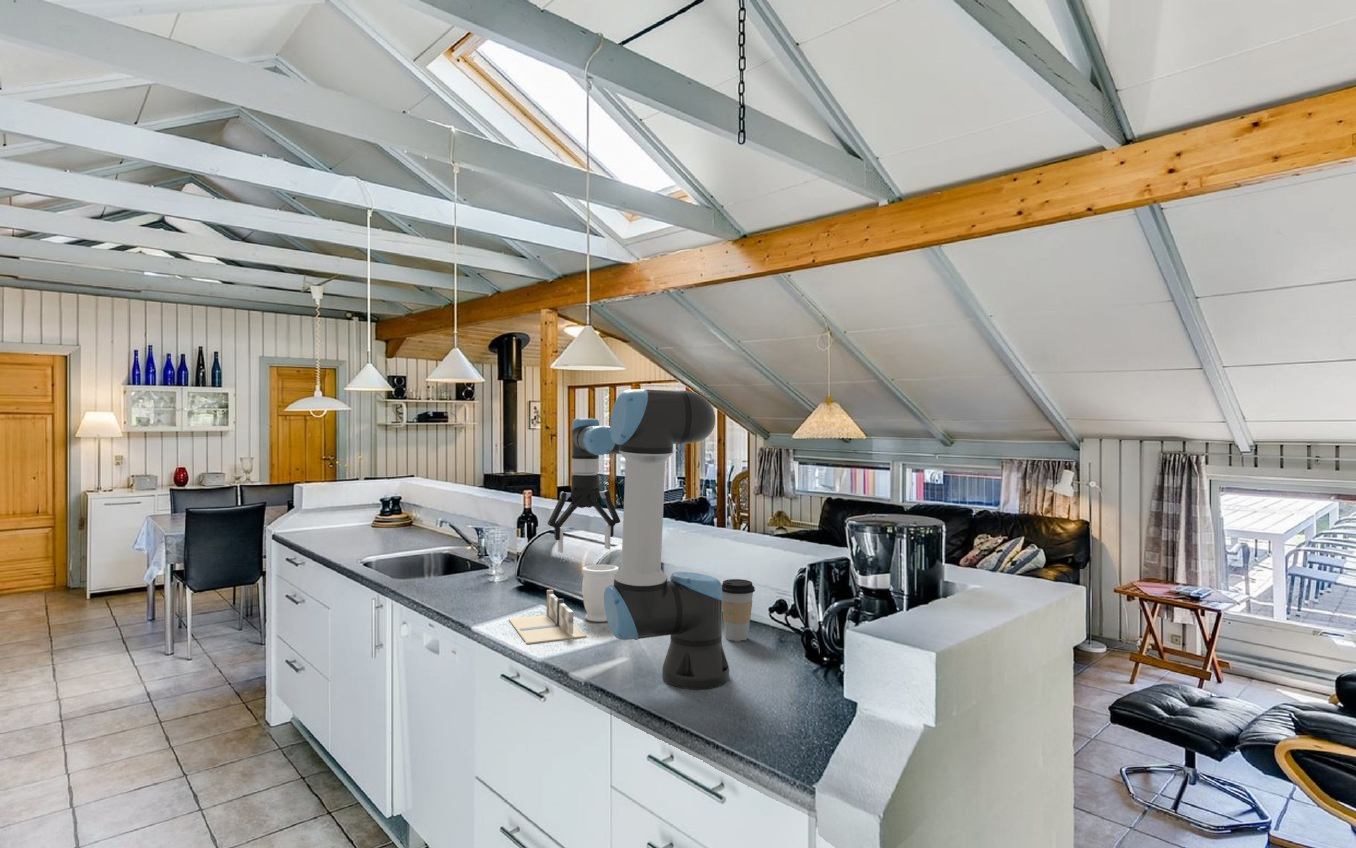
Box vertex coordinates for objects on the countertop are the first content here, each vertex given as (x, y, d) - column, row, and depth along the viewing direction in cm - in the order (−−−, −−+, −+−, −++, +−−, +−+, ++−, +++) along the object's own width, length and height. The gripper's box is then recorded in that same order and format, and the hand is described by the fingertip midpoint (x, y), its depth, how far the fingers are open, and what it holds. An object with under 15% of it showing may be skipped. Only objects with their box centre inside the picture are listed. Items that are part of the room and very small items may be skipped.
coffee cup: (713, 640, 186) (714, 583, 186) (727, 631, 194) (728, 577, 194) (746, 645, 181) (747, 588, 181) (759, 636, 190) (760, 581, 190)
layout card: (586, 637, 187) (586, 635, 187) (526, 644, 180) (526, 642, 180) (562, 614, 209) (562, 612, 209) (508, 620, 202) (508, 618, 202)
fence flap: (574, 634, 187) (574, 608, 187) (567, 634, 186) (567, 609, 186) (562, 622, 197) (562, 598, 197) (556, 623, 197) (556, 599, 197)
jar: (620, 614, 210) (621, 564, 210) (614, 624, 200) (615, 571, 200) (586, 613, 211) (586, 563, 211) (578, 622, 201) (578, 570, 201)
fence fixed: (565, 626, 196) (565, 600, 196) (557, 627, 195) (557, 601, 195) (553, 613, 208) (553, 589, 208) (545, 614, 207) (545, 590, 207)
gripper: (622, 472, 203) (621, 545, 203) (537, 473, 193) (536, 550, 193) (631, 474, 196) (631, 549, 196) (544, 475, 186) (543, 555, 186)
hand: (584, 550), depth 194 cm, fingers open, 13 cm apart
